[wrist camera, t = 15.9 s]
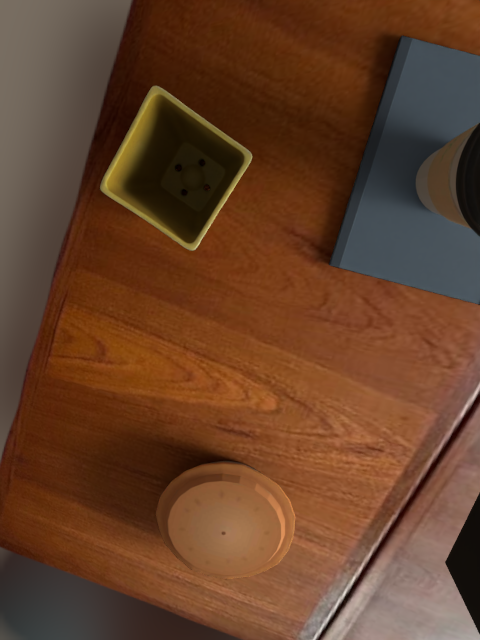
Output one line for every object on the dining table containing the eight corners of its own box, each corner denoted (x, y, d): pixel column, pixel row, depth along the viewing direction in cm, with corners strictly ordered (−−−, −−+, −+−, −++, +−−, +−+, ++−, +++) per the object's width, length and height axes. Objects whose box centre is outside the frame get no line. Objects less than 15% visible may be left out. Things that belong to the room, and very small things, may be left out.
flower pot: (258, 164, 39) (255, 154, 30) (209, 242, 41) (192, 253, 33) (180, 108, 38) (153, 81, 30) (133, 191, 41) (96, 188, 32)
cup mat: (399, 37, 35) (401, 35, 35) (581, 85, 35) (586, 83, 35) (328, 264, 41) (329, 265, 41) (485, 305, 41) (488, 306, 40)
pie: (245, 420, 46) (242, 446, 42) (318, 520, 49) (323, 554, 45) (138, 481, 50) (124, 511, 45) (212, 571, 53) (206, 608, 48)
